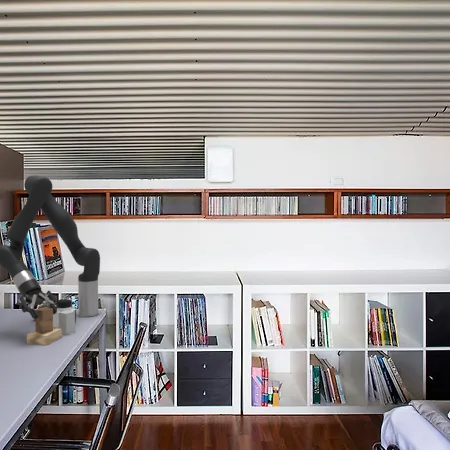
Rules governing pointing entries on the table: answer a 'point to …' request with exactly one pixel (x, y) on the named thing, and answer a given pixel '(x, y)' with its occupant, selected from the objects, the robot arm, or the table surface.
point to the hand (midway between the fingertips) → (46, 315)
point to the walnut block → (44, 320)
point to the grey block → (67, 322)
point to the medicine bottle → (62, 306)
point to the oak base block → (44, 337)
